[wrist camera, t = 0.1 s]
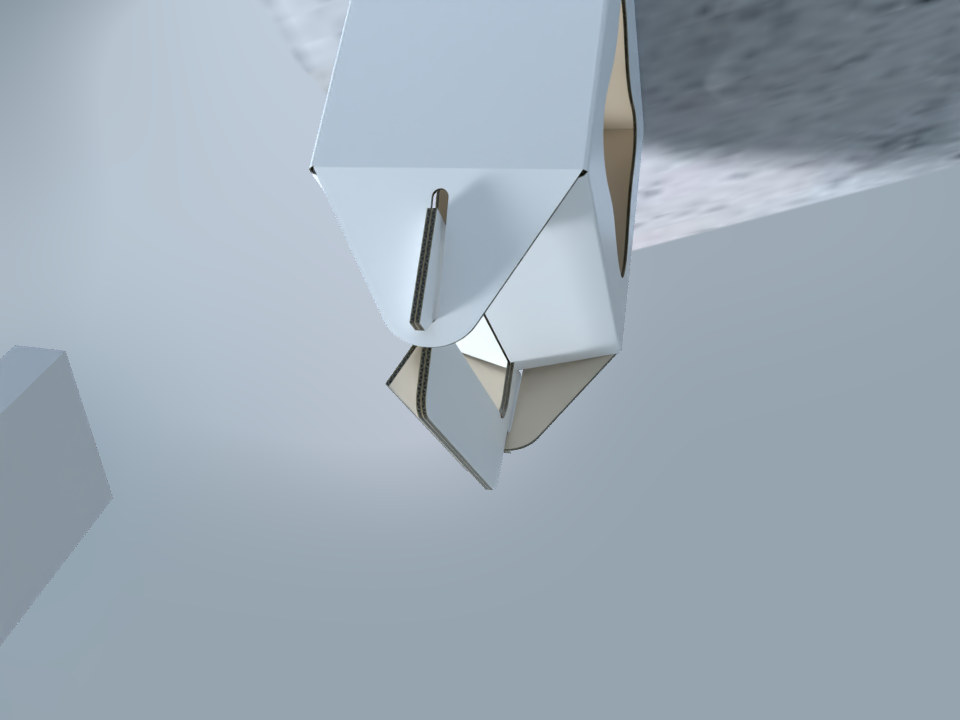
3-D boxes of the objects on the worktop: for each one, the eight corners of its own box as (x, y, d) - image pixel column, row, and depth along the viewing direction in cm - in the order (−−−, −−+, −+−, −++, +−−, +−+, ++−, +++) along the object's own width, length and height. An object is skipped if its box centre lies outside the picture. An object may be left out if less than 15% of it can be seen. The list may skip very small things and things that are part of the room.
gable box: (373, -117, 47) (252, 379, 38) (624, -136, 44) (557, 402, 35) (468, 130, 67) (403, 492, 58) (644, 130, 64) (605, 514, 55)
